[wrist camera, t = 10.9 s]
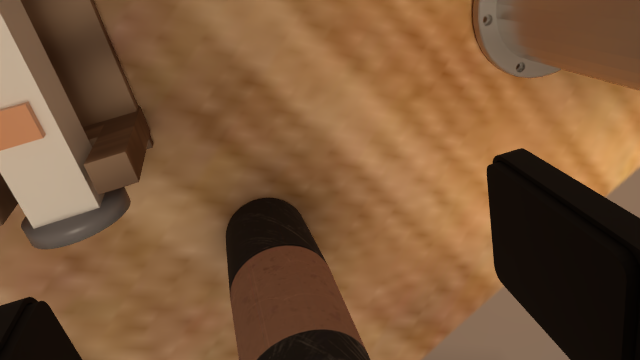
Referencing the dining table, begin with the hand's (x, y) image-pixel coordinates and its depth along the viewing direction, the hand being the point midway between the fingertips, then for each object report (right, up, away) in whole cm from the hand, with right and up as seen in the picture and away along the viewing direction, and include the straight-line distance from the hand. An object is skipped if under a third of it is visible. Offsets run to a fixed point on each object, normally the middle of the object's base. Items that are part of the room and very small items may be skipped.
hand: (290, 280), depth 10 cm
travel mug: (-4, -3, +34) cm, 34 cm away
